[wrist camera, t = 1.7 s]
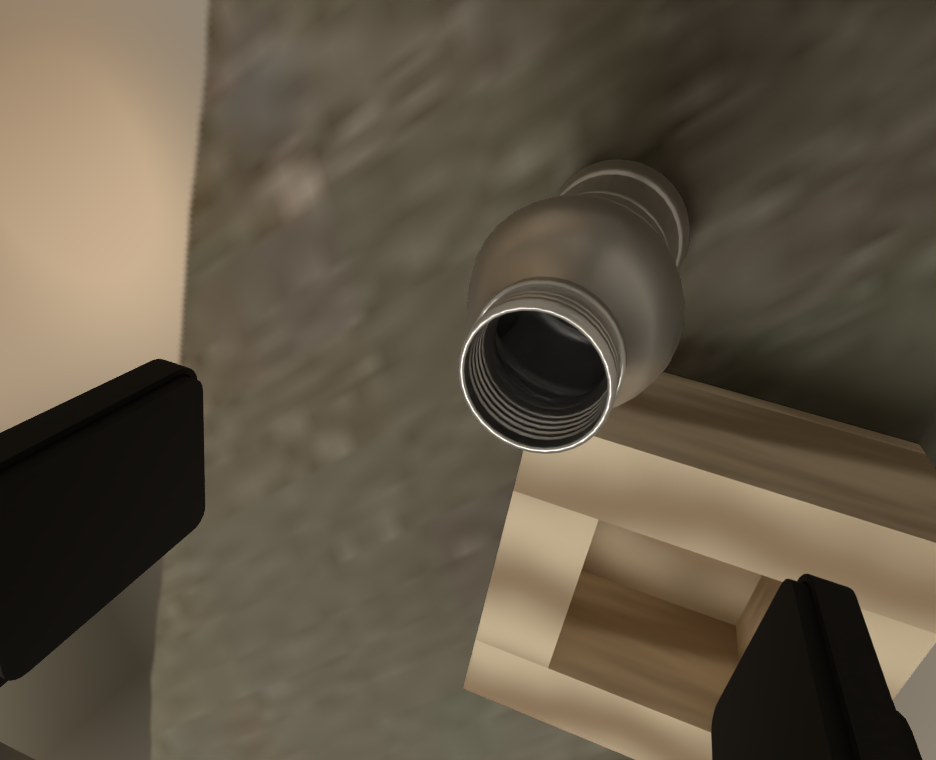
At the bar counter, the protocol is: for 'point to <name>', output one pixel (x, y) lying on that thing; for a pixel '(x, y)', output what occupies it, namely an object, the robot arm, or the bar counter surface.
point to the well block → (695, 560)
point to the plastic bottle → (575, 306)
